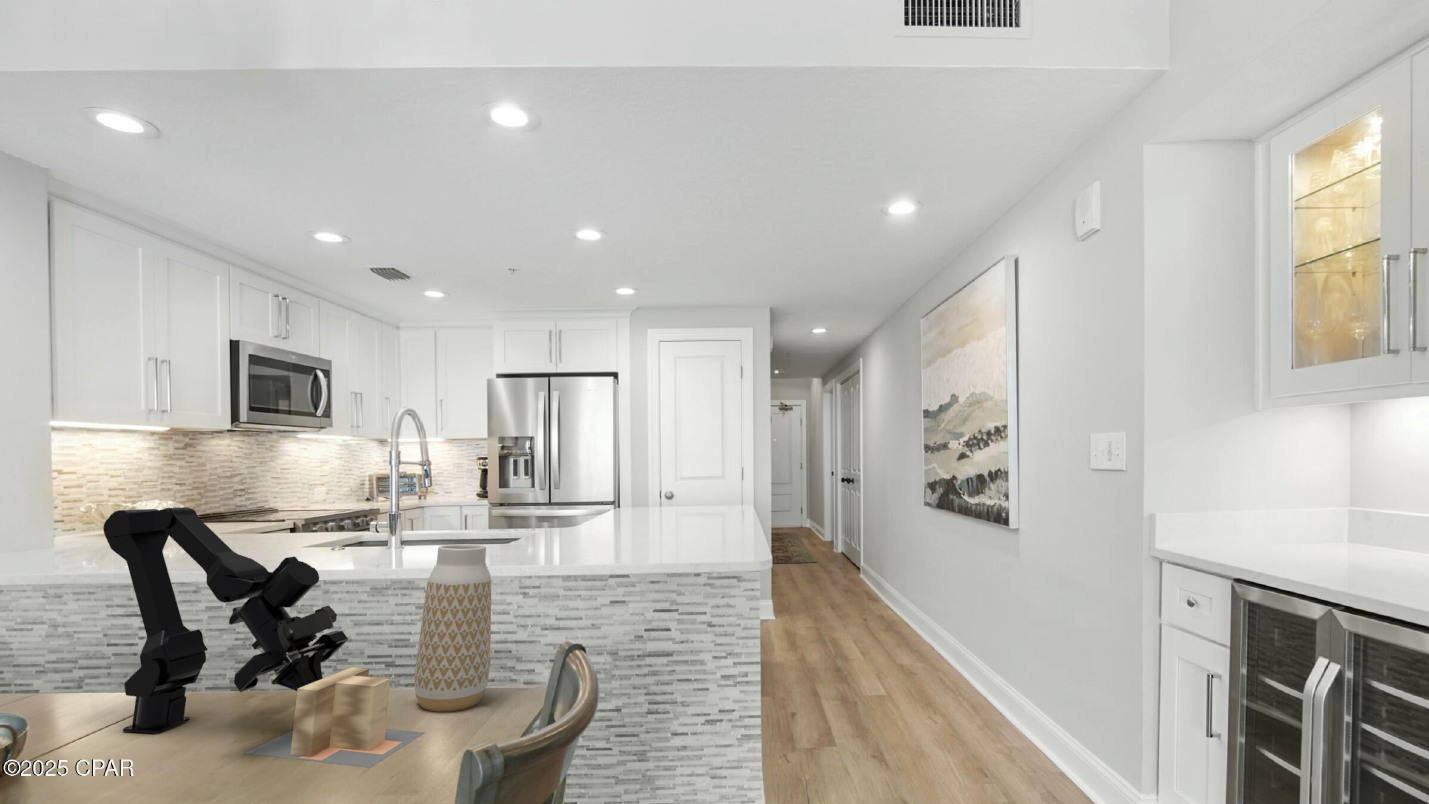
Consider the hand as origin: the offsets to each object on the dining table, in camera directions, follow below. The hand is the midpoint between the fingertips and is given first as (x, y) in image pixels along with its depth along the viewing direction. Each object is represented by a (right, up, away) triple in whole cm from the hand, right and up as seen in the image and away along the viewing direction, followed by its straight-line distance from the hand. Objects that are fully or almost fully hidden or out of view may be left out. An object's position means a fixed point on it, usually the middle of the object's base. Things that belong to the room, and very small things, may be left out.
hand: (322, 697), depth 108 cm
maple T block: (+5, -7, -2) cm, 9 cm away
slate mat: (+4, -7, -2) cm, 8 cm away
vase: (+14, -10, +19) cm, 25 cm away
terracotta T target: (+8, -7, -2) cm, 11 cm away
